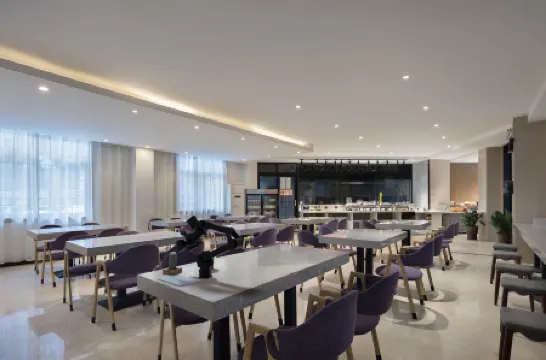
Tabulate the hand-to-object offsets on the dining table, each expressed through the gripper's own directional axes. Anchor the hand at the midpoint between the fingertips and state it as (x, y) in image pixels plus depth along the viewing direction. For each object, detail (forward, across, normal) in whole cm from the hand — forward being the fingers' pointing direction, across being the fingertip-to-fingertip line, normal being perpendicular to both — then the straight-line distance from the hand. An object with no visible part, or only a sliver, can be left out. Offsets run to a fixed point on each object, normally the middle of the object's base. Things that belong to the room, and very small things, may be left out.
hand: (181, 252), depth 194 cm
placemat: (+2, +13, +16) cm, 21 cm away
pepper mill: (+14, 0, +4) cm, 15 cm away
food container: (+4, -19, +15) cm, 25 cm away
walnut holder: (+14, 0, +4) cm, 15 cm away
